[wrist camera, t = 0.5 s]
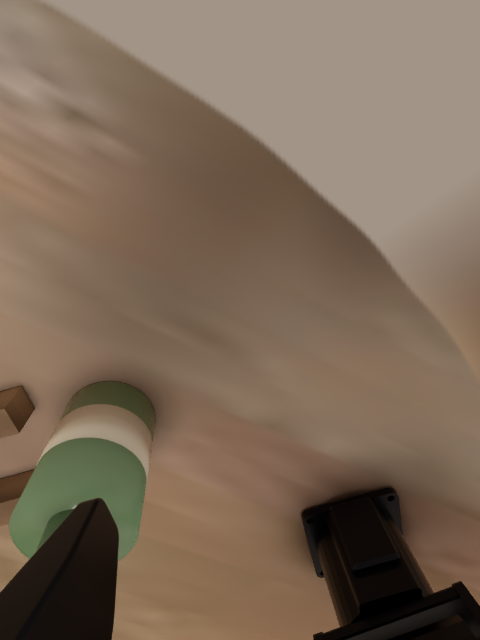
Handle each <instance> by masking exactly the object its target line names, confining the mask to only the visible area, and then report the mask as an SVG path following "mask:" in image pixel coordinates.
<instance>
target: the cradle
mask: <svg viewBox="0 0 480 640" xmlns="http://www.w3.org/2000/svg"><path fill="white" fill-rule="evenodd" d="M34 409H35V408H34V406H33V404H32V403H31V401H30V399H29V397H28V396H27V394H26V392H25V391H24V389H23V387H22V386H19V387H15V388H12V389H8V390H4V391H1V392H0V438H3V437H7V436H11V435H14V434H18V433H20V431H21V430H22V428H23V427H24V425H25V423H26V422H27V420H28V419H29V417H30V416H31V414H32V412H33V411H34ZM33 472H34V470H31V471H28V472H24V473H20V474H17V475H13V476H9V477H6V478H2V479H0V526H3V525H6V524H9V523H10V518H11V515H12V513H13V510H14V509H15V507H16V505H17V503H18V501H19V499H20V497H21V495H22V493H23V491H24V489H25V487H26V485H27V483H28V481H29V479H30V477H31V476H32V474H33Z"/></svg>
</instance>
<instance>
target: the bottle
mask: <svg viewBox="0 0 480 640" xmlns="http://www.w3.org/2000/svg"><path fill="white" fill-rule="evenodd" d="M155 422H156V415H155V410H154V407H153V405H152V403H151V402H150V400H149V399H148V398H147V397H146V396H145V395H144V394H143V393H142V392H141V391H139V390H138V389H136V388H135V387H132V386H130V385H128V384H125V383H121V382H114V381H104V382H97V383H93V384H90V385H88V386H86V387H84V388H82V389H81V390H79V391H78V392H77V393H76V394H75V395H74V396H73V397H72V399H71V400H70V402H69V404H68V406H67V408H66V410H65V411H64V413H63V415H62V417H61V419H60V421H59V423H58V425H57V426H56V428H55V430H54V432H53V434H52V436H51V438H50V440H49V442H48V443H47V445H46V447H45V449H44V451H43V453H42V455H41V457H40V459H39V461H38V463H37V465H36V468H35V470H34V472H33V474H32V476H31V477H30V479H29V481H28V483H27V485H26V487H25V489H24V491H23V493H22V495H21V497H20V499H19V501H18V503H17V505H16V507H15V509H14V510H13V513H12V515H11V518H10V523H9V530H10V535H11V538H12V540H13V542H14V544H15V545H16V547H17V548H18V549H19V550H20V551H21V552H22V553H23V554H24V555H25V556H26V557H28V558H29V559H30V558H31V557H32V556H33V555H34V554H35V553H36V551H37V550H38V549H39V548H40V547H41V546H42V545H43V544H44V542H45V541H46V540H47V539H48V538H49V537H50V536H51V534H52V533H53V532H54V531H55V530H56V529H57V528H58V527H59V525H60V524H61V523H62V522H63V521H64V520H65V519H66V517H67V516H68V515H69V514H70V513H71V512H72V511H73V509H74V508H75V507H76V506H77V505H78V504H79V503H81V502H83V501H87V500H91V499H95V498H102V499H103V500H104V501H105V503H106V505H107V507H108V509H109V511H110V513H111V515H112V517H113V519H114V521H115V523H116V525H117V528H118V532H119V548H118V561H119V560H120V559H122V558H123V557H124V556H126V555H127V554H128V553H129V552H130V551H131V549H132V548H133V547H134V545H135V543H136V541H137V538H138V535H139V528H140V522H141V515H142V508H143V502H144V495H145V489H146V485H147V478H148V471H149V465H150V458H151V451H152V442H153V435H154V428H155Z"/></svg>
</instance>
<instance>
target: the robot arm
mask: <svg viewBox="0 0 480 640" xmlns="http://www.w3.org/2000/svg"><path fill="white" fill-rule="evenodd" d="M301 518H302V522H303V526H304V529H305V533H306V537H307V541H308V545H309V548H310V552H311V556H312V560H313V563H314V567H315V571H316V574H317V576H318V577H320V578H323V577H325V580H326V583H327V586H328V590H329V593H330V596H331V599H332V603H333V606H334V609H335V612H336V616H337V619H338V622H339V625H340V627H339V628H337V629H334V630H331V631H328V632H326V633H323V632H320V633H317V634H314V635H313V638H314V640H480V606H479V605H478V603H477V602H476V601H475V599H474V598H473V596H472V595H471V594H470V592H469V591H468V590H467V588H466V587H465V585H464V584H463V583H462V582H461V581H459V582H457V583H454V584H452V587H449V588H446V589H444V590H441V591H438V592H435V593H434V592H433V590H432V588H431V587H430V585H429V583H428V581H427V579H426V577H425V576H424V574H423V572H422V570H421V568H420V567H419V565H418V563H417V561H416V559H415V557H414V556H413V554H412V552H411V550H410V548H409V547H408V545H407V543H406V541H405V539H404V537H403V533H402V524H401V515H400V507H399V498H398V495H397V493H396V491H395V490H394V489H393V488H387V489H383V490H380V491H376V492H372V493H369V494H365V495H362V496H358V497H354V498H351V499H347V500H344V501H340V502H336V503H333V504H329V505H326V506H322V507H318V508H315V509H311V510H308V511H305V512H304V513H303V514H302V515H301ZM118 548H119V532H118V528H117V525H116V523H115V521H114V519H113V517H112V515H111V513H110V511H109V509H108V507H107V505H106V503H105V501H104V500H103V499H102V498H95V499H91V500H87V501H83V502H81V503H79V504H78V505H77V506H76V507H75V508H74V509H73V511H72V512H71V513H70V514H69V515H68V516H67V517H66V519H65V520H64V521H63V522H62V523H61V524H60V525H59V527H58V528H57V529H56V530H55V531H54V532H53V533H52V534H51V536H50V537H49V538H48V539H47V540H46V541H45V542H44V544H43V545H42V546H41V547H40V548H39V549H38V550H37V551H36V553H35V554H34V555H33V556H32V557H31V558H30V559H29V561H28V562H27V563H26V564H25V565H24V566H23V567H22V569H21V570H20V571H19V572H18V573H17V574H16V575H15V576H14V578H13V579H12V580H11V581H10V582H9V583H8V584H7V586H6V587H5V588H4V589H3V590H2V591H1V592H0V640H111V639H112V632H113V624H114V612H115V596H116V580H117V564H118Z"/></svg>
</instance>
